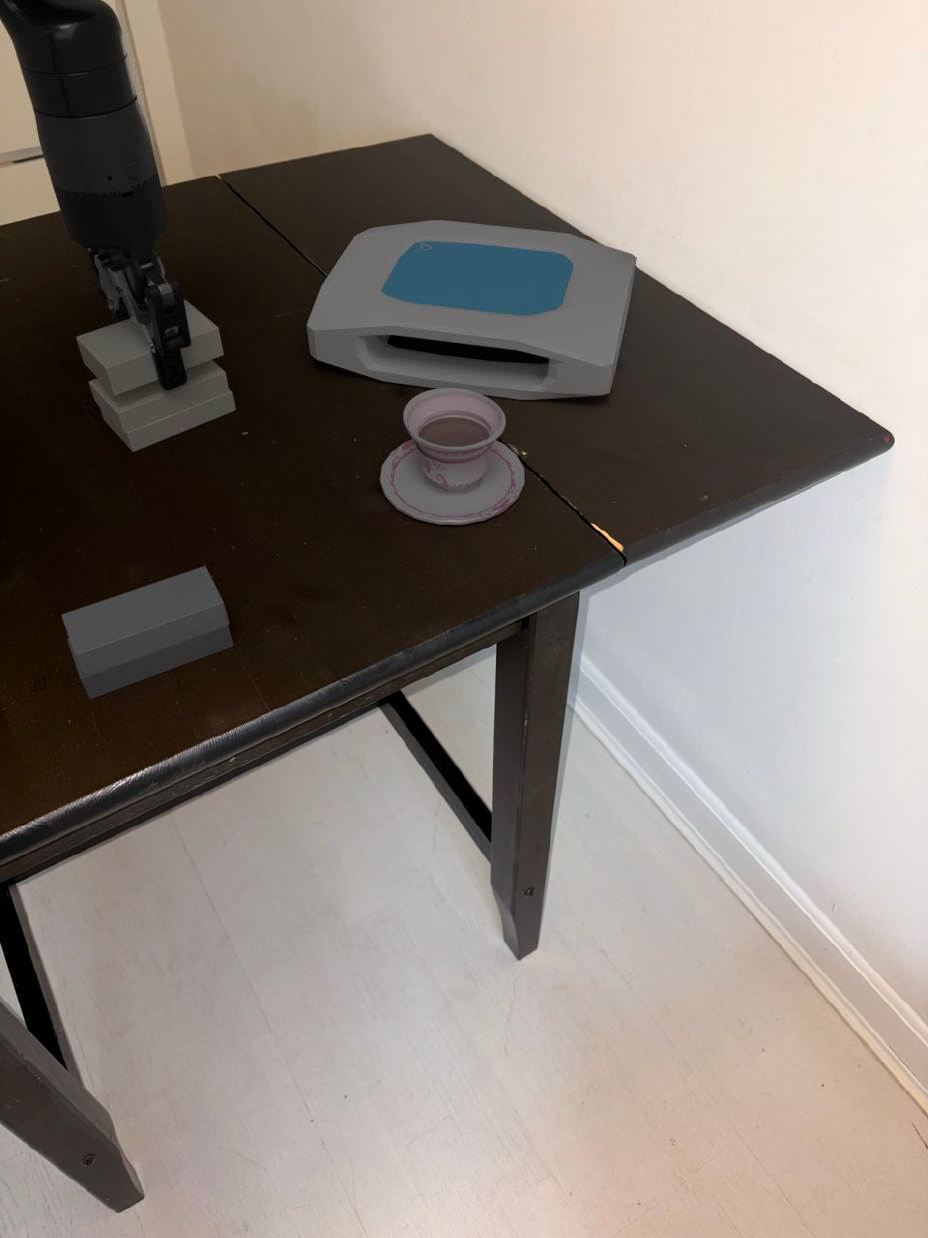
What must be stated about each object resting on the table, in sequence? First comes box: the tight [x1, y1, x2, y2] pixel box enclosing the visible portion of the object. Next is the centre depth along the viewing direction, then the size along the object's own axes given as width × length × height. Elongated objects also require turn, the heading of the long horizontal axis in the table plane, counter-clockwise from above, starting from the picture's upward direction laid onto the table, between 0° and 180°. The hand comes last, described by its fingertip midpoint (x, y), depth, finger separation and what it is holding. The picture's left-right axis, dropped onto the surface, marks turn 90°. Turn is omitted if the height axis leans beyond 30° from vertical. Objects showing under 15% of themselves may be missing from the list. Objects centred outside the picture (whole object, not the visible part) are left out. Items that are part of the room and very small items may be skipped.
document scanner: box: [306, 219, 638, 401], centre depth 92 cm, size 21×28×6 cm
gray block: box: [61, 565, 235, 700], centre depth 64 cm, size 10×4×4 cm, turn 118°
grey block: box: [88, 359, 237, 453], centre depth 84 cm, size 10×6×4 cm, turn 128°
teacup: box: [379, 388, 525, 526], centre depth 77 cm, size 12×12×6 cm
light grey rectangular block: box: [75, 299, 225, 396], centre depth 80 cm, size 10×6×3 cm, turn 128°
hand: (156, 367), depth 81 cm, fingers closed on light grey rectangular block, 6 cm apart
